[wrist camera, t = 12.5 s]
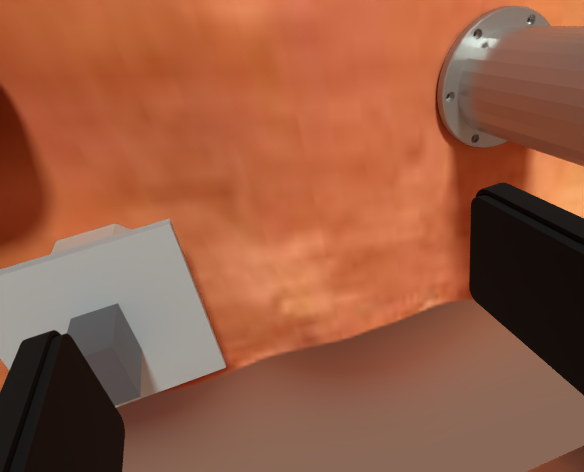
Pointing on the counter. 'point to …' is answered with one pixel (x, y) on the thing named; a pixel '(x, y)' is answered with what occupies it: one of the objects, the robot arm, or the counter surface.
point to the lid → (116, 311)
